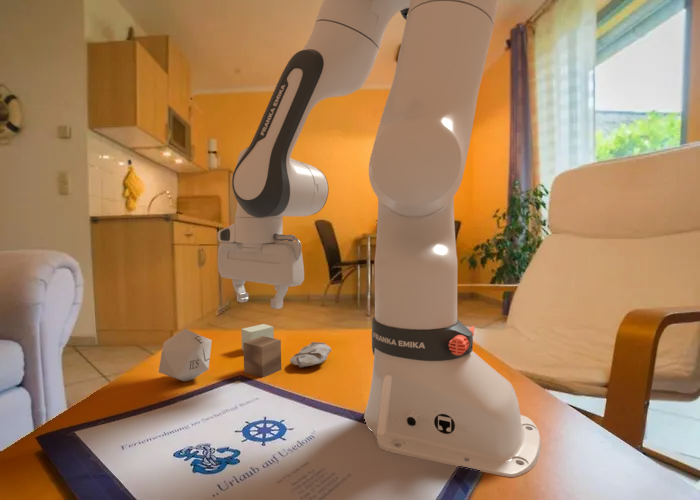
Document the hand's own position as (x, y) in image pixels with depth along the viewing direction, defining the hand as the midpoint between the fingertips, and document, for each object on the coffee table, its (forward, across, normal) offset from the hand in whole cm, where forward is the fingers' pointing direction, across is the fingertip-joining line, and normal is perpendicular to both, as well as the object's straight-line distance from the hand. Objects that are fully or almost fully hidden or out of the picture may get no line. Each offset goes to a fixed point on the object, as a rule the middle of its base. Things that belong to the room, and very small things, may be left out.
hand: (259, 304), depth 70 cm
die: (+14, +7, +11) cm, 19 cm away
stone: (+13, -8, -12) cm, 19 cm away
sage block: (+13, +10, -9) cm, 19 cm away
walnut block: (+13, -1, 0) cm, 13 cm away
